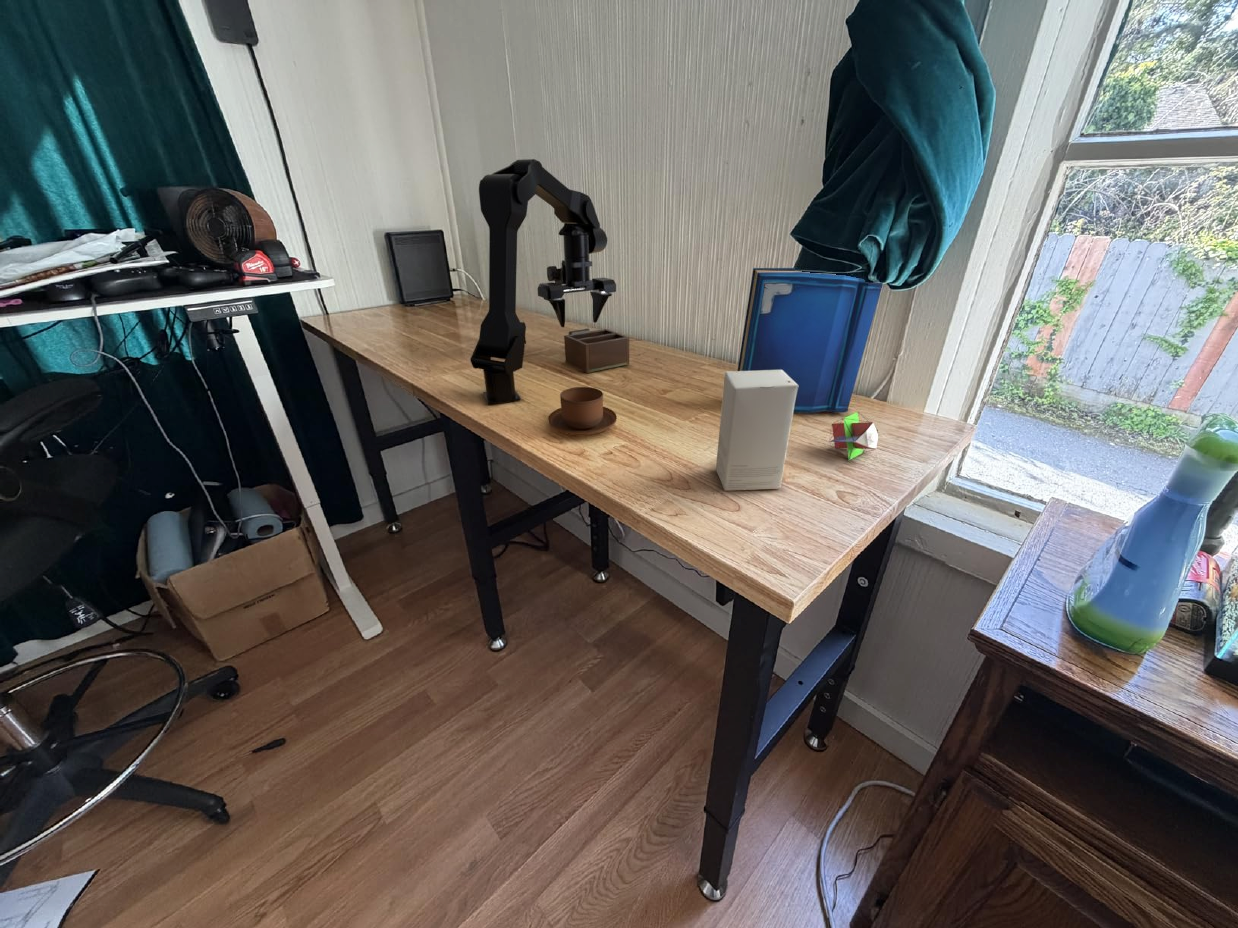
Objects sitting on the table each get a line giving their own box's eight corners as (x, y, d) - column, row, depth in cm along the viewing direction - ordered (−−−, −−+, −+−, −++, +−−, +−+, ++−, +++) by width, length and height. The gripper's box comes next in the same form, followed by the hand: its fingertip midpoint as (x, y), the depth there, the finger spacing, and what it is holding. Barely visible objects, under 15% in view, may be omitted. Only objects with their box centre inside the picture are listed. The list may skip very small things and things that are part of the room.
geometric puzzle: (809, 435, 79) (846, 408, 73) (833, 425, 83) (870, 397, 77) (836, 473, 77) (876, 448, 71) (859, 460, 81) (899, 435, 75)
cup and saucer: (535, 425, 88) (533, 392, 85) (589, 408, 95) (588, 378, 92) (575, 448, 80) (573, 413, 77) (630, 428, 87) (631, 395, 84)
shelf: (557, 358, 123) (556, 332, 120) (598, 350, 129) (598, 325, 126) (586, 373, 113) (585, 344, 110) (629, 364, 119) (629, 337, 116)
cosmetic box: (768, 468, 74) (785, 368, 67) (782, 491, 68) (802, 385, 61) (712, 469, 74) (723, 368, 67) (722, 492, 68) (735, 385, 61)
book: (843, 403, 98) (875, 268, 86) (854, 417, 91) (890, 274, 79) (732, 398, 100) (748, 266, 87) (736, 412, 93) (754, 272, 81)
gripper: (592, 251, 124) (594, 314, 132) (524, 255, 115) (530, 323, 123) (617, 255, 116) (617, 322, 124) (546, 260, 107) (551, 332, 115)
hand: (579, 324), depth 121 cm, fingers open, 9 cm apart
